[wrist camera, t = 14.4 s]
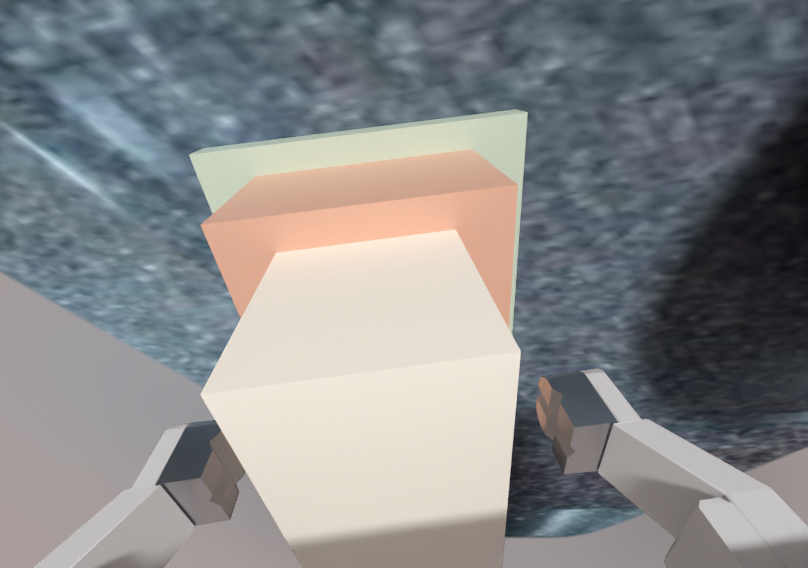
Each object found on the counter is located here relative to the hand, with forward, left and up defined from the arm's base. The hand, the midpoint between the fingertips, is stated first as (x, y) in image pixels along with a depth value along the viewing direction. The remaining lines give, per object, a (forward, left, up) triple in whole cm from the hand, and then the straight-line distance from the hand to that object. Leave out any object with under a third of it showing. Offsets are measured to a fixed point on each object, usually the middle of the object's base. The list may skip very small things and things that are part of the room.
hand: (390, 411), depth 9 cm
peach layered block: (0, 0, -8) cm, 8 cm away
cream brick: (0, 0, -2) cm, 2 cm away
